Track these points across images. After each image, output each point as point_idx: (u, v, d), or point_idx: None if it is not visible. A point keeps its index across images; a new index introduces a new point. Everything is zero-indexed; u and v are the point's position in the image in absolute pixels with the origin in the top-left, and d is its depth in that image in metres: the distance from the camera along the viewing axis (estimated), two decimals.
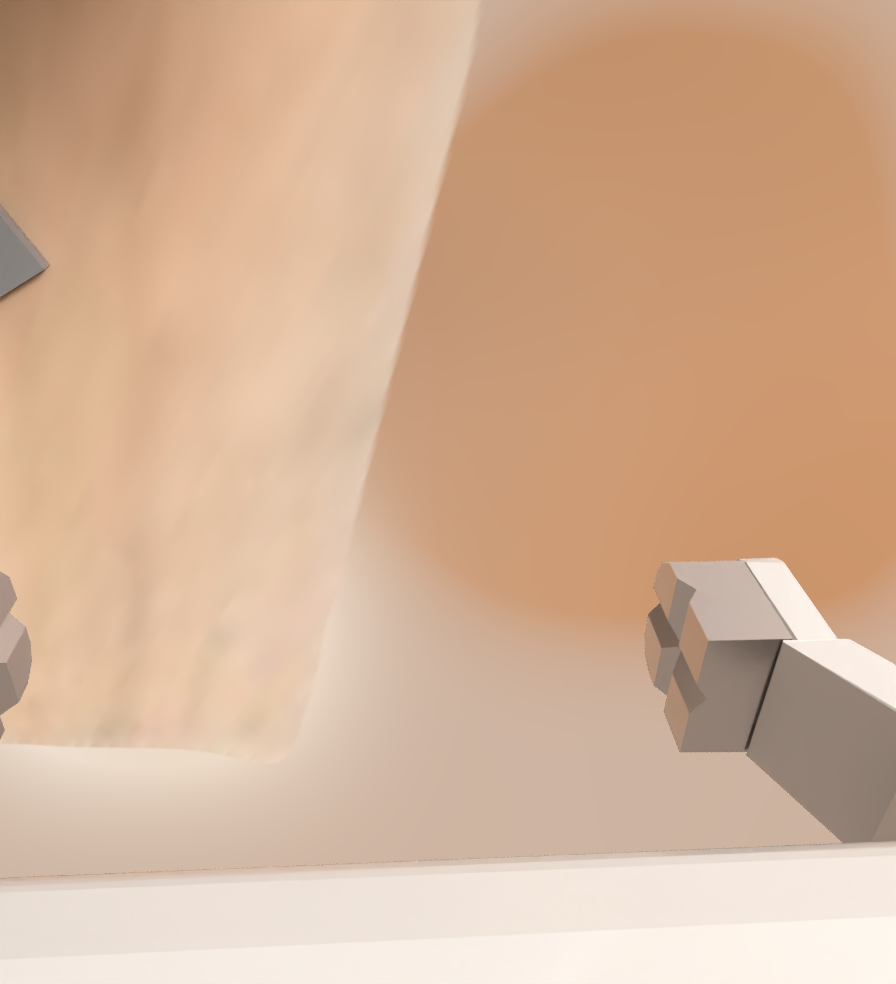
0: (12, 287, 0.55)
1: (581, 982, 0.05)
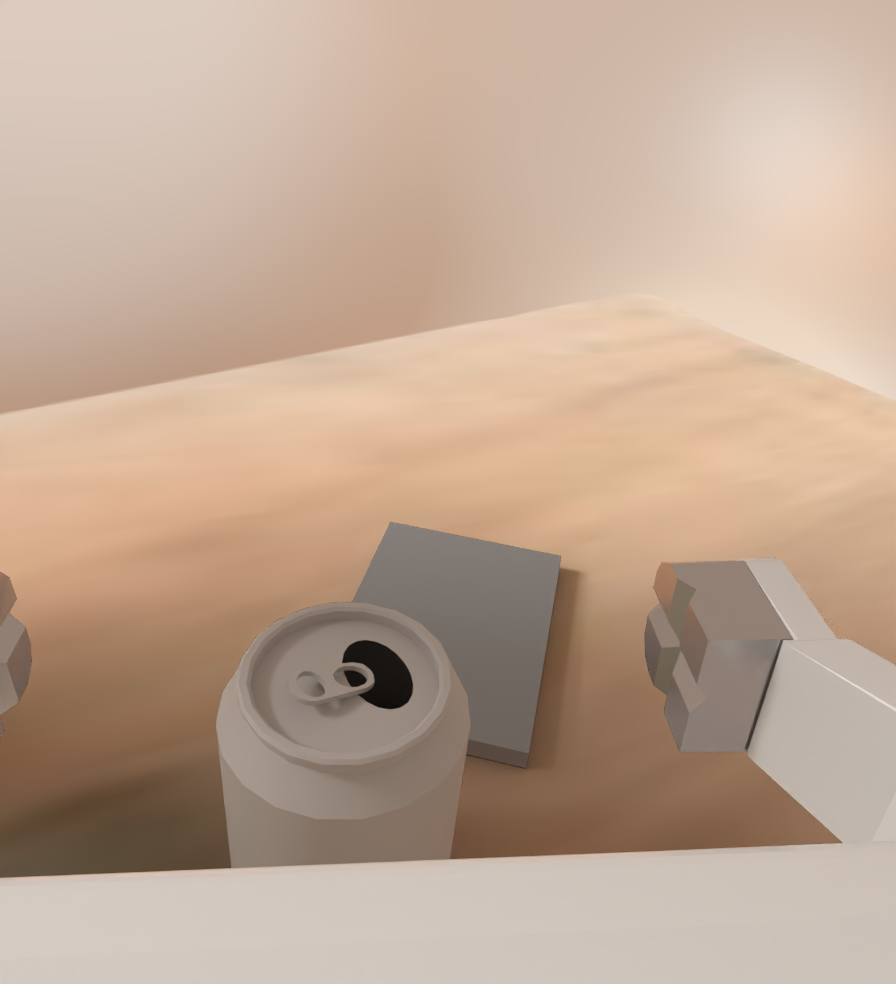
0: (433, 531, 0.48)
1: (581, 982, 0.05)
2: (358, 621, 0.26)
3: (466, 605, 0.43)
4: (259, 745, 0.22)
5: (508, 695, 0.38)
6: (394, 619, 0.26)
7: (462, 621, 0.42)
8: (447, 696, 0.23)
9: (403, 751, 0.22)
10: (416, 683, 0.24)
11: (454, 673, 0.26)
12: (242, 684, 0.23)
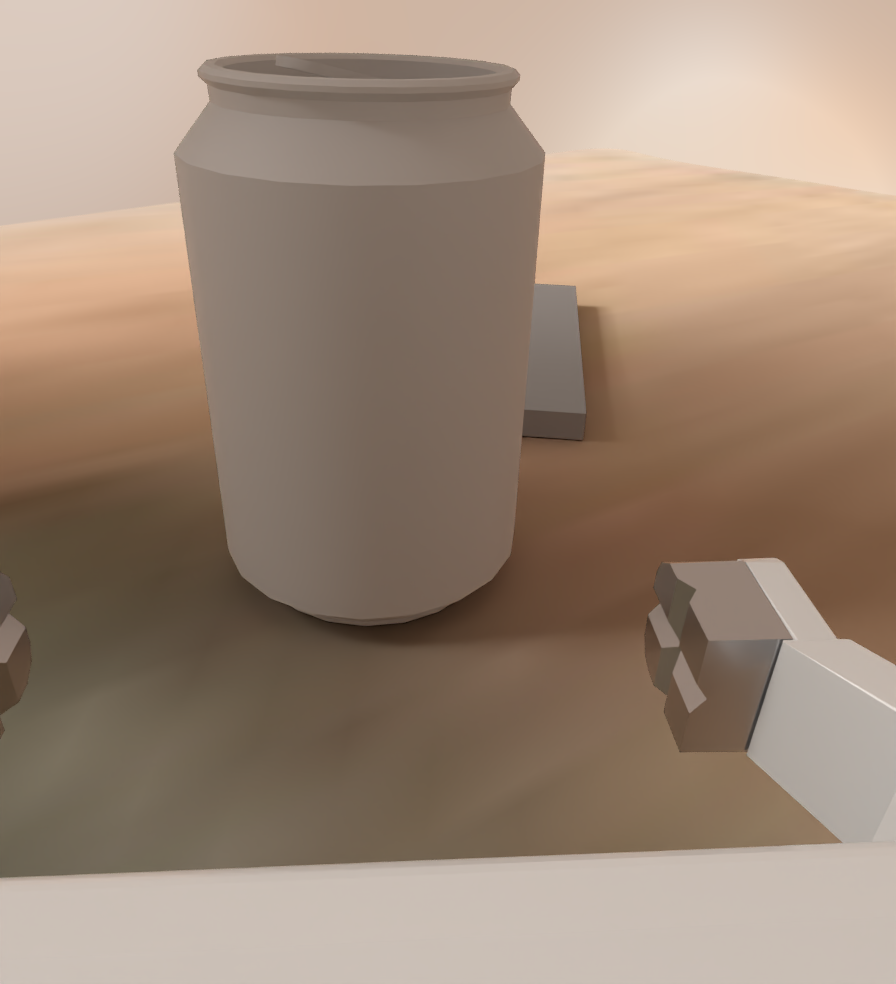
0: None
1: (581, 982, 0.05)
2: None
3: None
4: (243, 117, 0.15)
5: (546, 376, 0.30)
6: (415, 61, 0.18)
7: None
8: (513, 71, 0.16)
9: (466, 87, 0.14)
10: None
11: None
12: (208, 64, 0.15)
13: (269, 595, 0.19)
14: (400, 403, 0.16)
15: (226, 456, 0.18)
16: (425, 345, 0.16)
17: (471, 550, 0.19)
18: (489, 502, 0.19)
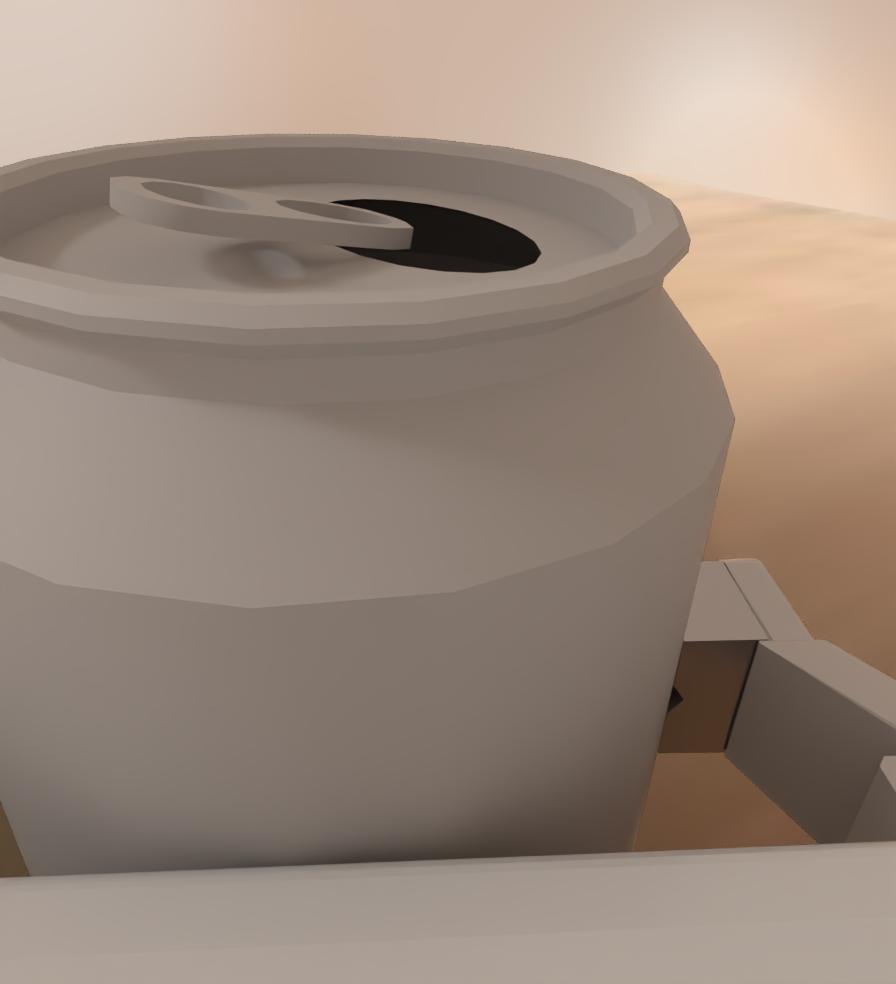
0: None
1: (581, 982, 0.05)
2: (339, 182, 0.10)
3: None
4: None
5: None
6: (437, 153, 0.09)
7: None
8: (672, 210, 0.07)
9: (591, 298, 0.05)
10: (543, 240, 0.08)
11: None
12: None
13: None
14: None
15: None
16: None
17: None
18: None
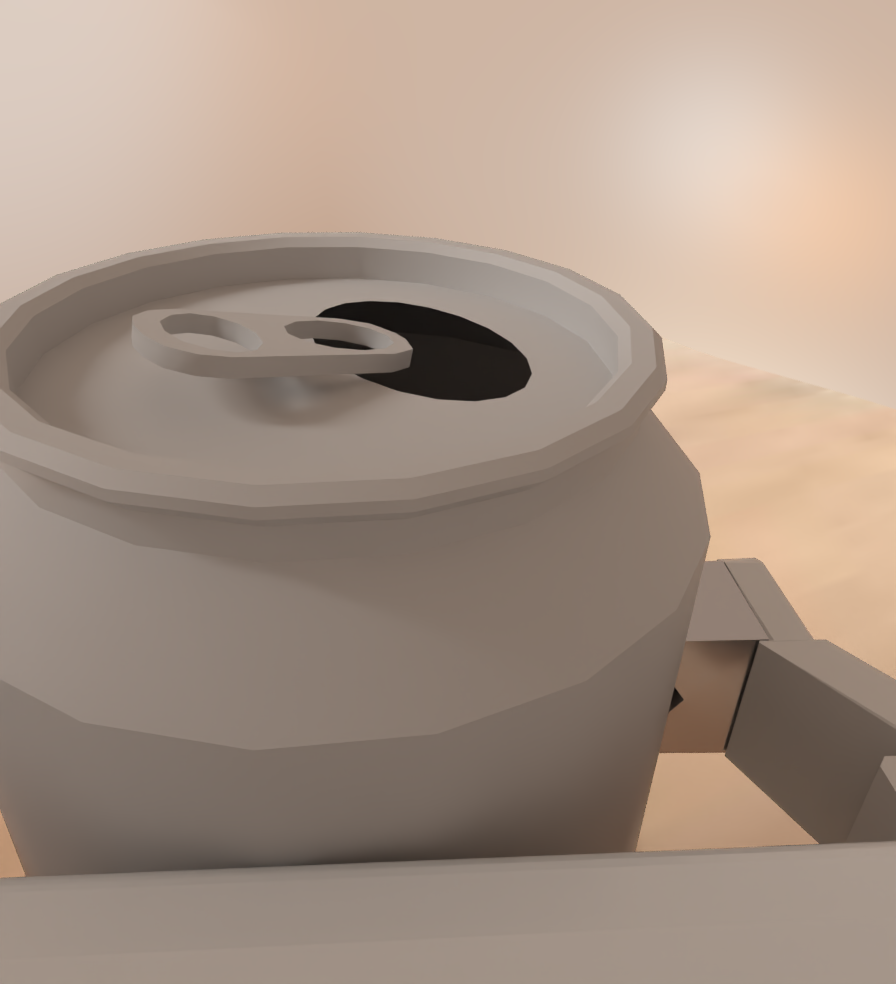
0: None
1: (581, 982, 0.05)
2: (346, 279, 0.10)
3: None
4: (23, 509, 0.06)
5: None
6: (439, 254, 0.10)
7: None
8: (653, 343, 0.07)
9: (567, 460, 0.06)
10: (534, 356, 0.08)
11: None
12: None
13: None
14: None
15: None
16: None
17: None
18: None
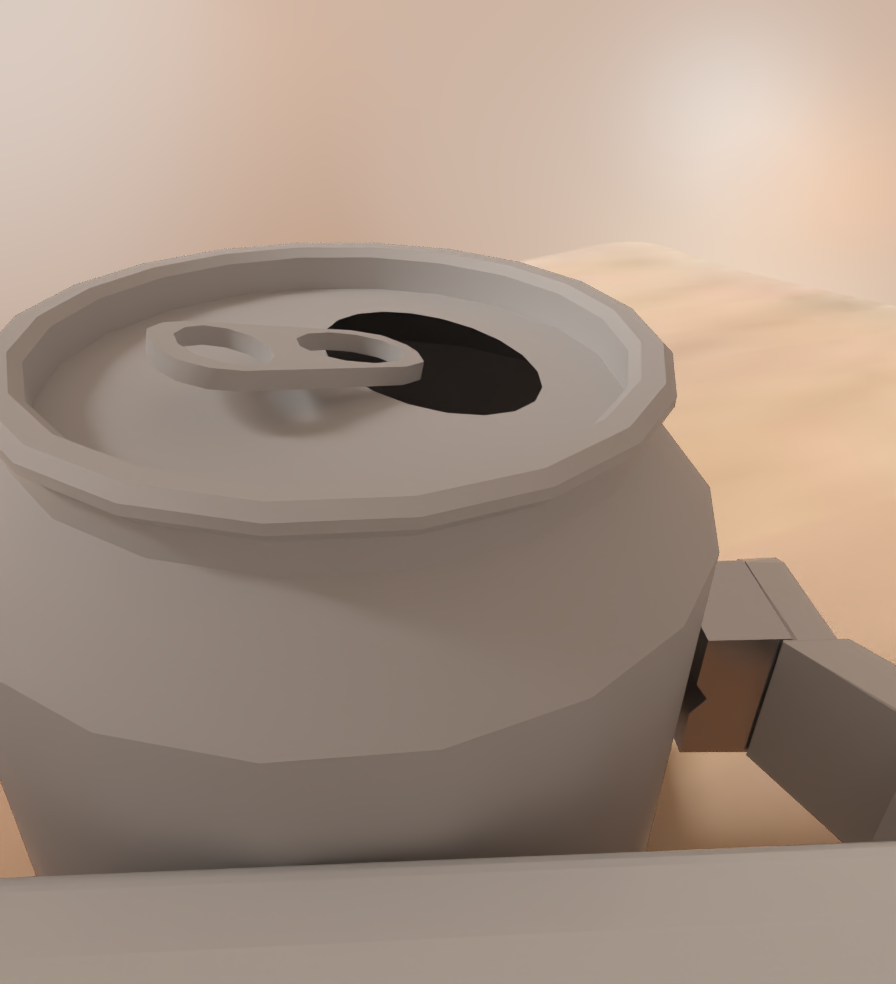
0: None
1: (581, 982, 0.05)
2: (360, 289, 0.10)
3: None
4: (38, 520, 0.06)
5: None
6: (453, 265, 0.10)
7: None
8: (663, 358, 0.07)
9: (574, 478, 0.06)
10: (546, 368, 0.08)
11: None
12: None
13: None
14: None
15: None
16: None
17: None
18: None
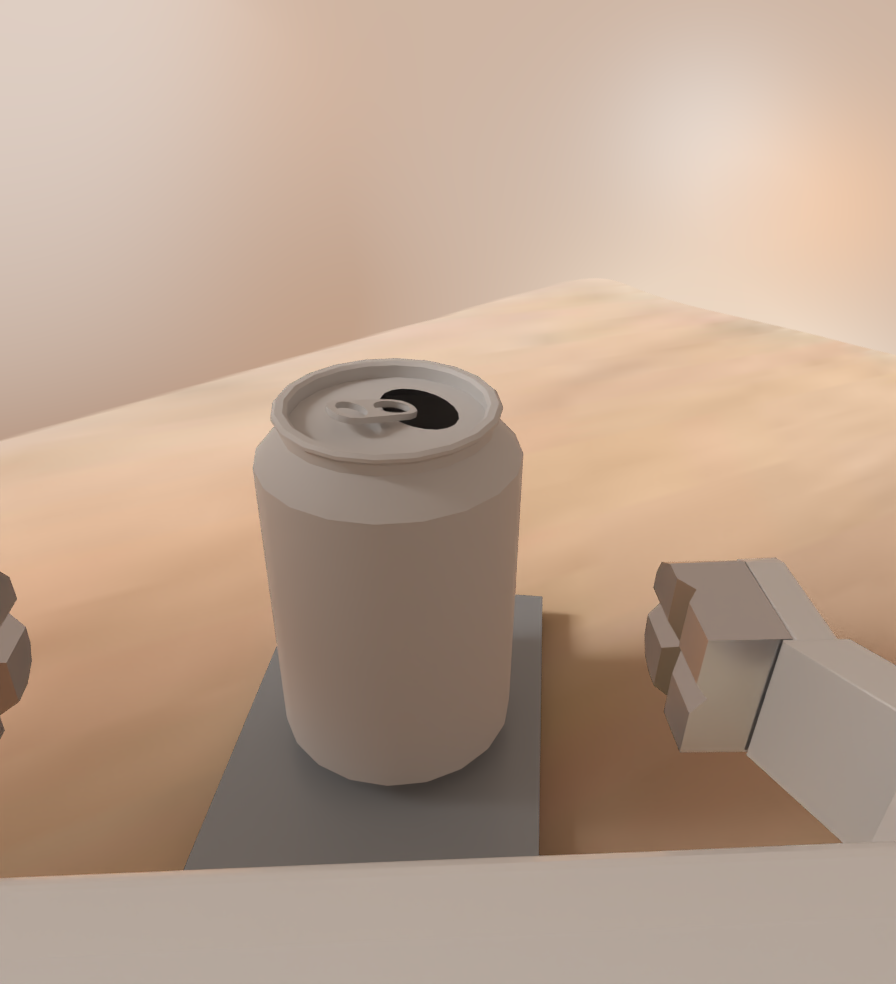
0: None
1: (581, 982, 0.05)
2: (392, 377, 0.25)
3: None
4: (303, 464, 0.21)
5: (493, 824, 0.25)
6: (429, 368, 0.25)
7: None
8: (497, 409, 0.22)
9: (458, 447, 0.20)
10: (461, 412, 0.23)
11: None
12: (278, 414, 0.22)
13: (318, 762, 0.25)
14: (413, 648, 0.22)
15: (287, 665, 0.24)
16: (431, 612, 0.22)
17: (470, 733, 0.25)
18: (483, 698, 0.25)
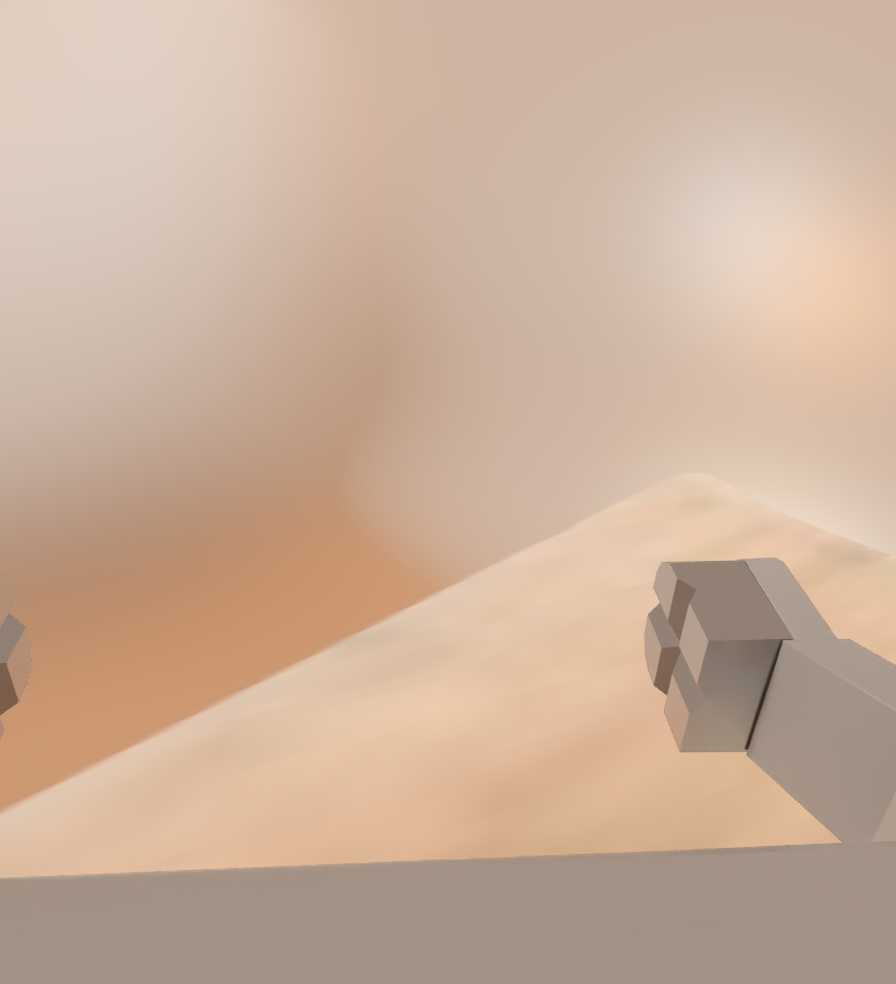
0: None
1: (581, 982, 0.05)
2: None
3: None
4: None
5: None
6: None
7: None
8: None
9: None
10: None
11: None
12: None
13: None
14: None
15: None
16: None
17: None
18: None
